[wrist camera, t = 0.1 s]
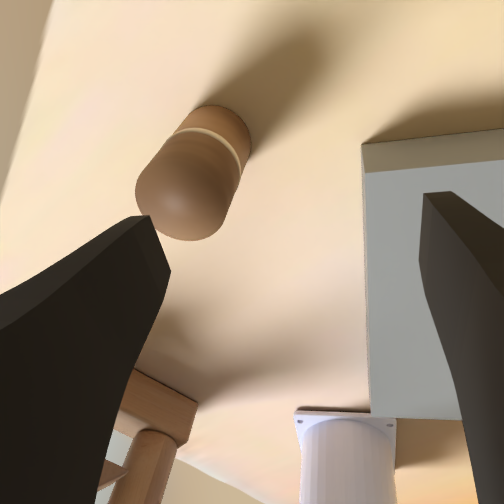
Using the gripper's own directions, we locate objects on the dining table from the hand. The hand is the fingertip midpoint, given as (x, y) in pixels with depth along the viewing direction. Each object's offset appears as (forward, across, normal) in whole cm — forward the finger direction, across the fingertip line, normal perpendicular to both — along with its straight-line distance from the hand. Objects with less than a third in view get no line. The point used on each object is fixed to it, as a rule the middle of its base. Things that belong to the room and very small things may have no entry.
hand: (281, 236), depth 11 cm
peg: (+10, +4, +1) cm, 11 cm away
